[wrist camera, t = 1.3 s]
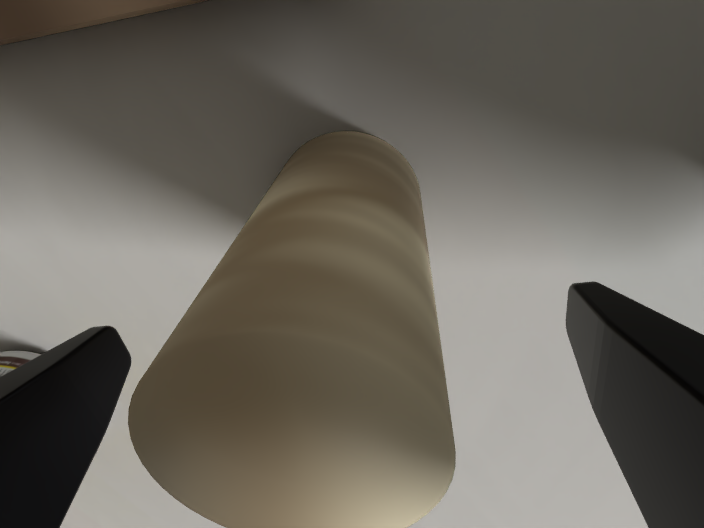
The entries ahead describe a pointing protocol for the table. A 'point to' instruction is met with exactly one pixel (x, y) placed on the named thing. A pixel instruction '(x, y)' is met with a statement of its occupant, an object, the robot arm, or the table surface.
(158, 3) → the collar socket
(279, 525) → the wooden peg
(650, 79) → the table surface
